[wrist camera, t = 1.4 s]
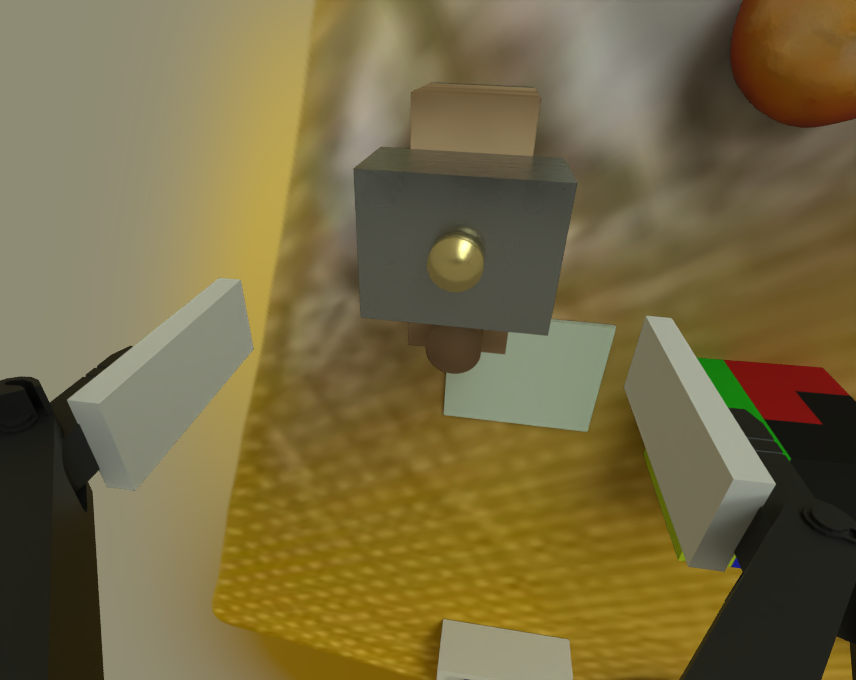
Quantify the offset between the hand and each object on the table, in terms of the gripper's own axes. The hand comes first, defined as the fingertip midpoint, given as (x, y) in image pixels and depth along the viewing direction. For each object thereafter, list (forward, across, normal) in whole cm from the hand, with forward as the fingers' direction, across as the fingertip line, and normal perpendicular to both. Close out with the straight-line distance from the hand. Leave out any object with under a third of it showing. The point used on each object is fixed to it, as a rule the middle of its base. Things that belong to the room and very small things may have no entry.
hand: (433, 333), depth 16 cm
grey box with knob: (+11, 0, 0) cm, 11 cm away
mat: (+18, +5, -14) cm, 24 cm away
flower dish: (+19, +8, -59) cm, 62 cm away
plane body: (+18, 0, -1) cm, 18 cm away
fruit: (+18, +16, +9) cm, 26 cm away
